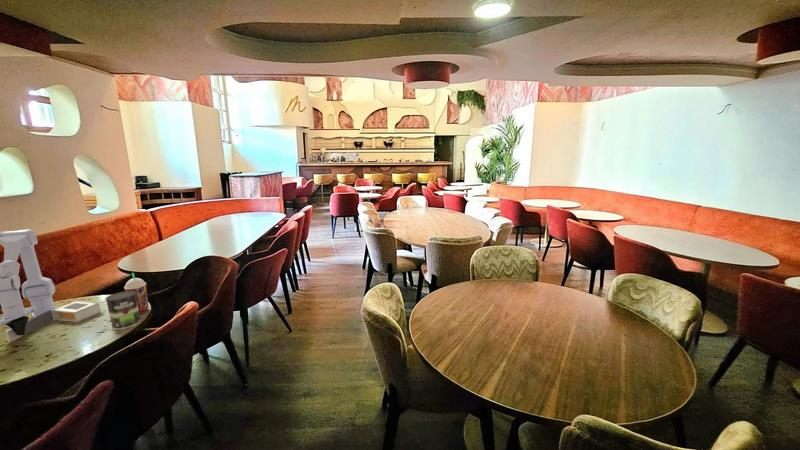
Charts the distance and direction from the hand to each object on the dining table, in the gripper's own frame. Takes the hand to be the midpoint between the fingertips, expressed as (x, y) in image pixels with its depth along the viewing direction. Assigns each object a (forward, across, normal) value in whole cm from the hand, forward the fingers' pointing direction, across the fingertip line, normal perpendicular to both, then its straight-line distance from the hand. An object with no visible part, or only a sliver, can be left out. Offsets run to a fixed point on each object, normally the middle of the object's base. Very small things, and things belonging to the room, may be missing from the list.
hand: (20, 334), depth 139 cm
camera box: (+2, -20, +5) cm, 21 cm away
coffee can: (+2, -10, +36) cm, 37 cm away
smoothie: (+2, -23, +33) cm, 40 cm away
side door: (+1, -7, -3) cm, 7 cm away
